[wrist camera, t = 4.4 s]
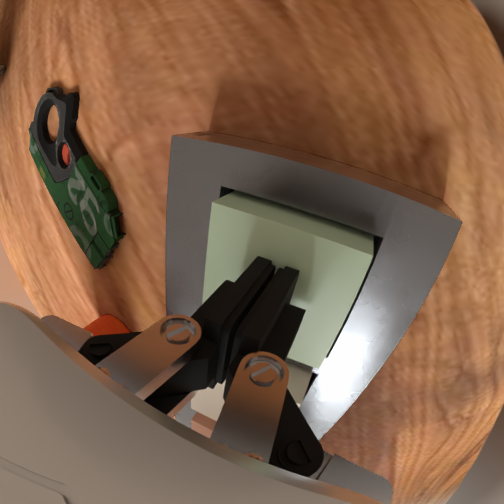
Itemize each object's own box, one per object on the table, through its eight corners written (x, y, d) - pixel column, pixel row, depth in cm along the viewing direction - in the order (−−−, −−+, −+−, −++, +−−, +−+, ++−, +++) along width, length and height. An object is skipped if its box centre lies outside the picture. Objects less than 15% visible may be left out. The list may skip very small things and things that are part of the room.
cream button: (288, 411, 17) (273, 445, 15) (211, 379, 19) (191, 408, 16) (315, 362, 14) (301, 404, 12) (218, 323, 16) (191, 356, 14)
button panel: (295, 448, 23) (285, 471, 21) (190, 402, 26) (175, 422, 24) (443, 201, 10) (462, 221, 8) (207, 131, 14) (172, 135, 11)
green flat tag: (142, 212, 16) (93, 276, 22) (157, 205, 17) (105, 268, 23) (52, 65, 14) (23, 146, 20) (66, 65, 16) (34, 143, 21)
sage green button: (330, 328, 14) (318, 369, 12) (228, 289, 16) (201, 320, 13) (373, 226, 11) (373, 255, 9) (245, 185, 13) (212, 202, 10)
